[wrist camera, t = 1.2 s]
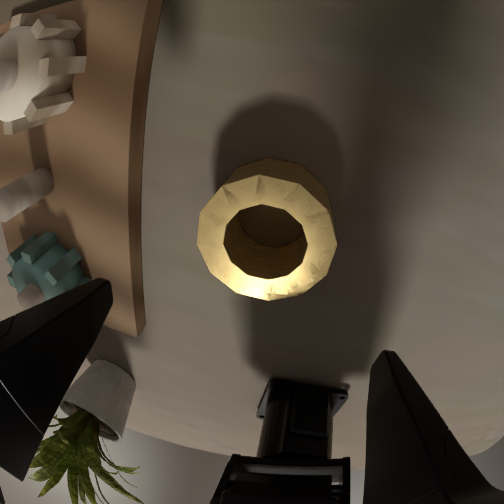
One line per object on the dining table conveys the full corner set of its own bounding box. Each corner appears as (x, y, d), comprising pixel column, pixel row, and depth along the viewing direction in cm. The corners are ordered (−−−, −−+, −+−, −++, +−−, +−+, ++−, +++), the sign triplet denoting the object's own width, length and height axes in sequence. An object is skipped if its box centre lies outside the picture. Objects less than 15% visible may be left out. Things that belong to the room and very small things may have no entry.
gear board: (145, 324, 22) (113, 378, 17) (28, 278, 23) (-8, 314, 18) (164, -7, 11) (101, -35, 6) (11, 26, 11) (-49, 32, 7)
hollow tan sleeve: (313, 276, 17) (312, 311, 15) (210, 251, 18) (193, 281, 15) (345, 176, 14) (353, 198, 12) (224, 148, 14) (205, 163, 12)
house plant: (132, 422, 34) (88, 522, 20) (49, 355, 30) (-16, 454, 16) (200, 407, 27) (150, 553, 13) (88, 315, 23) (-13, 466, 9)
